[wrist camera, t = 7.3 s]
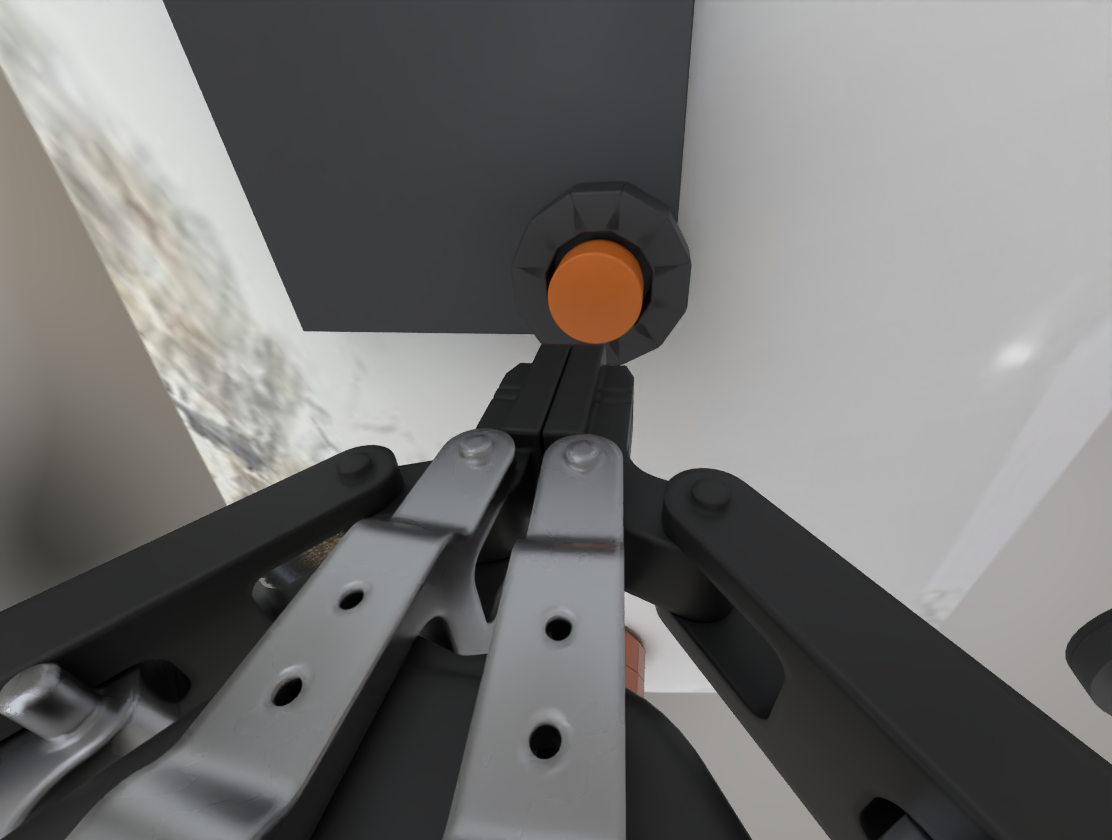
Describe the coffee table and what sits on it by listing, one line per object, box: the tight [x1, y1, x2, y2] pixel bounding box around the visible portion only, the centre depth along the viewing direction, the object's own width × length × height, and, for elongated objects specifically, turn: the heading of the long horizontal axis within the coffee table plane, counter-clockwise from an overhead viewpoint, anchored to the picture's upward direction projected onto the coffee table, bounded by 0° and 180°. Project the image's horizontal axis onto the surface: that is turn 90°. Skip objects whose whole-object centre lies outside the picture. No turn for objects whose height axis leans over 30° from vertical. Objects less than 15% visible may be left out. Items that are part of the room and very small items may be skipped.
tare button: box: [548, 239, 644, 344], centre depth 15 cm, size 3×3×2 cm
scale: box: [163, 0, 695, 365], centre depth 15 cm, size 16×14×4 cm
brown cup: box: [624, 629, 645, 698], centre depth 33 cm, size 6×6×5 cm
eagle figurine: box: [261, 535, 342, 588], centre depth 29 cm, size 8×7×9 cm
